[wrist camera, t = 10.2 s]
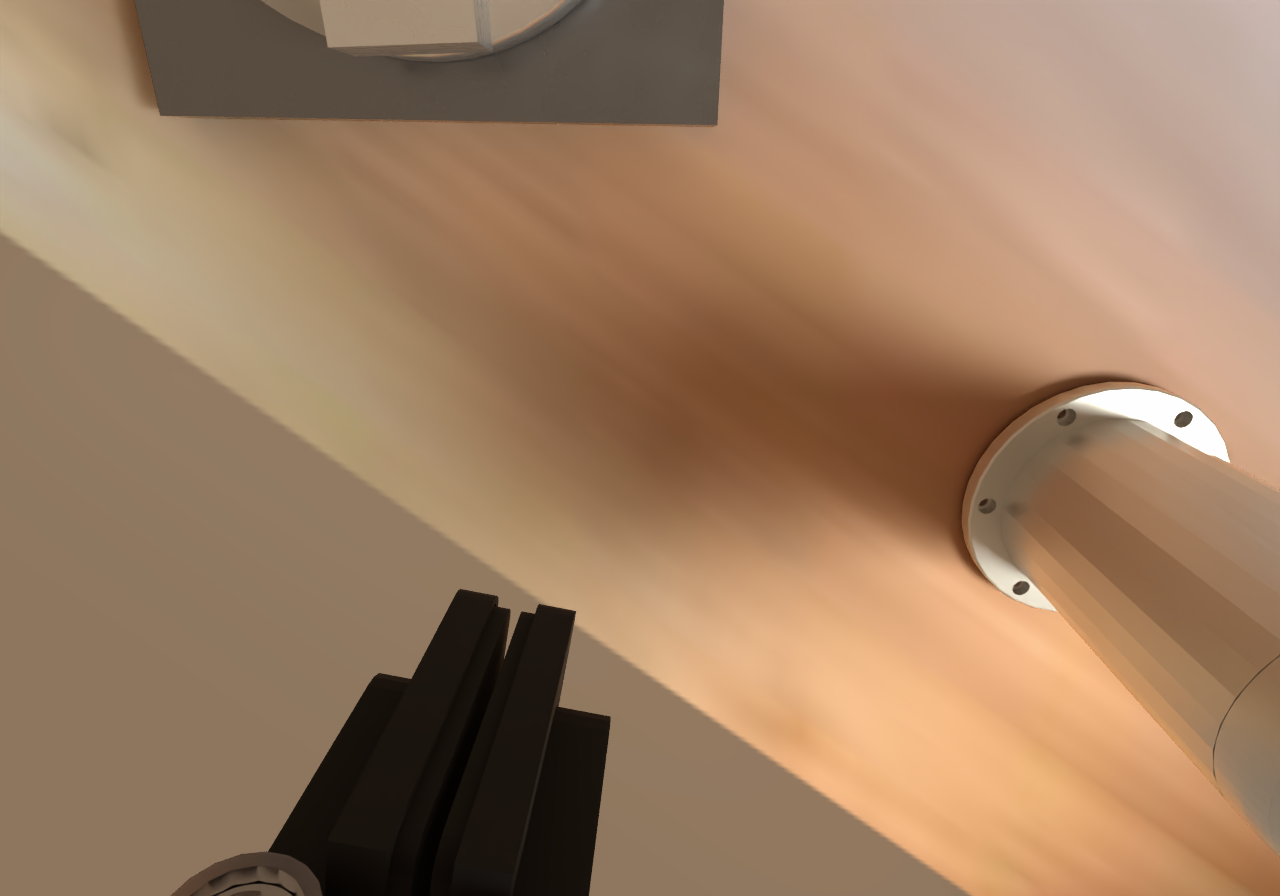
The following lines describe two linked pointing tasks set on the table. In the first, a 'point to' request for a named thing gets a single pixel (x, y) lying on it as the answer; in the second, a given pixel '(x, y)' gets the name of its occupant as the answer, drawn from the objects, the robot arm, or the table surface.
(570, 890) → the robot arm
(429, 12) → the silver hub plate
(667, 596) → the table surface
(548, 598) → the table surface
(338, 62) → the grey square base plate
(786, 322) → the table surface
